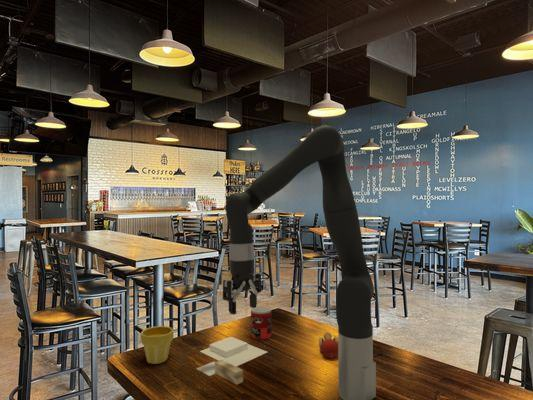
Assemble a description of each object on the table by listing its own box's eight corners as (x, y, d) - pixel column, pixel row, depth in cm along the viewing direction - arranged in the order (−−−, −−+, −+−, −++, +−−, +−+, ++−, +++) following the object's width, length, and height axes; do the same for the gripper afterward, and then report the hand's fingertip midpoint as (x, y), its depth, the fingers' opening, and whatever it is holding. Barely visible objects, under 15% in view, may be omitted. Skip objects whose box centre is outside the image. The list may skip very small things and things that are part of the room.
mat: (267, 353, 127) (267, 351, 127) (233, 369, 116) (233, 367, 116) (233, 339, 140) (233, 338, 140) (199, 352, 128) (199, 351, 128)
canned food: (248, 335, 144) (248, 307, 144) (266, 332, 147) (266, 305, 147) (255, 342, 137) (255, 313, 137) (274, 339, 140) (274, 310, 140)
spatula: (248, 380, 108) (248, 367, 108) (230, 389, 103) (230, 375, 103) (213, 363, 120) (213, 351, 120) (196, 370, 115) (196, 357, 115)
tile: (247, 343, 130) (231, 336, 136) (226, 351, 123) (209, 344, 129) (247, 348, 130) (231, 342, 136) (226, 357, 123) (209, 350, 129)
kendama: (315, 343, 139) (317, 357, 122) (318, 326, 140) (320, 337, 122) (335, 347, 138) (340, 362, 121) (338, 331, 139) (343, 343, 121)
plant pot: (158, 350, 130) (158, 323, 130) (179, 357, 124) (179, 328, 124) (134, 362, 121) (134, 332, 121) (156, 369, 116) (156, 338, 115)
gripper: (233, 262, 104) (234, 319, 104) (266, 255, 114) (268, 307, 114) (216, 259, 109) (217, 314, 109) (249, 253, 119) (251, 303, 119)
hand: (243, 310), depth 111 cm, fingers open, 8 cm apart
